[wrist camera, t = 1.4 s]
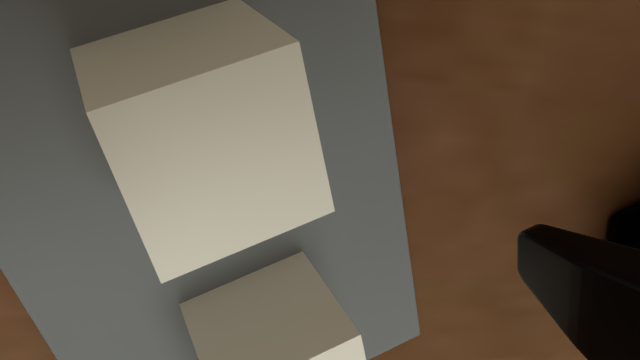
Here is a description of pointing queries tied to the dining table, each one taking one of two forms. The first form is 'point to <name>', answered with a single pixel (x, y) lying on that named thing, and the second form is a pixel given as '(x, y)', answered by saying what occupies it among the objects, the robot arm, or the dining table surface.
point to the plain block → (206, 132)
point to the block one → (272, 317)
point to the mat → (113, 214)
